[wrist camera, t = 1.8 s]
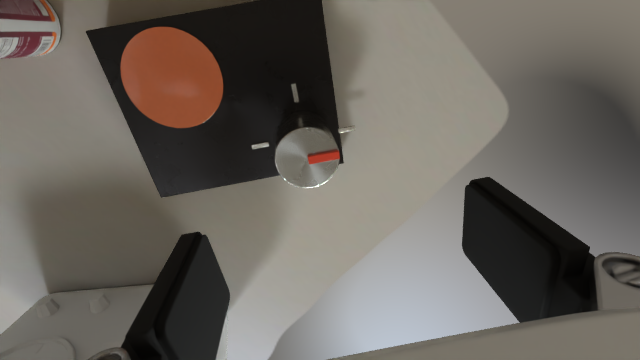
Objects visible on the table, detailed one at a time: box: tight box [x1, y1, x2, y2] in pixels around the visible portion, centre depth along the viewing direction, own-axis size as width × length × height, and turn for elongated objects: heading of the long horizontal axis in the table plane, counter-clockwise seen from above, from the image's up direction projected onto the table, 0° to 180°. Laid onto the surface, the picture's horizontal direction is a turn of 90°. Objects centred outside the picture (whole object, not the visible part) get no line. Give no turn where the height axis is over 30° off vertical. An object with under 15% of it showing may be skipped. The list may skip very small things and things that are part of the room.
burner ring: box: [120, 27, 224, 128], centre depth 22 cm, size 7×7×1 cm
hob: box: [86, 0, 355, 198], centre depth 24 cm, size 17×14×3 cm
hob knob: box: [274, 111, 340, 188], centre depth 22 cm, size 4×4×5 cm
